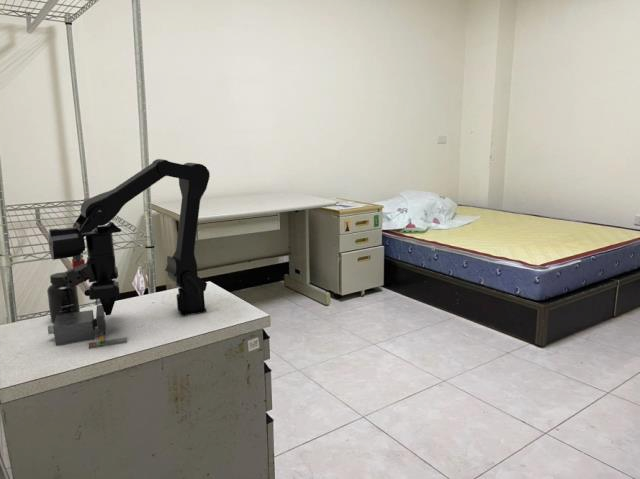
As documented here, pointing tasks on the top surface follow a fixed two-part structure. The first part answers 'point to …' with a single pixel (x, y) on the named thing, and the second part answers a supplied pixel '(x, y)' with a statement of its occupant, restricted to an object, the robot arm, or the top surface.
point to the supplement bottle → (61, 297)
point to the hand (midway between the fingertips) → (108, 314)
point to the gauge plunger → (97, 322)
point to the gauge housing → (79, 330)
